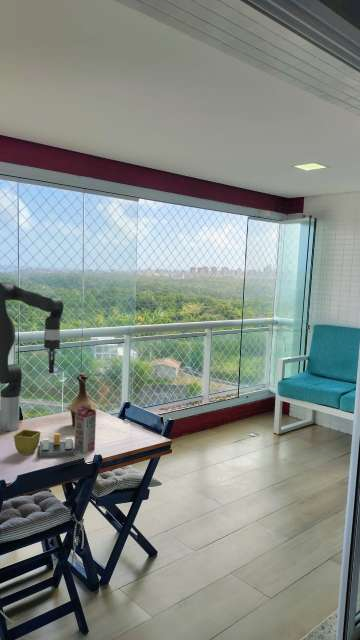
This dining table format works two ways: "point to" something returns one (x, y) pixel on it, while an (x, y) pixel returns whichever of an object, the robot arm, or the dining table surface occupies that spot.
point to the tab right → (68, 442)
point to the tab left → (45, 443)
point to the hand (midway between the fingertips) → (51, 373)
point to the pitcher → (81, 398)
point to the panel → (56, 450)
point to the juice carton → (85, 429)
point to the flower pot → (27, 441)
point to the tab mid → (57, 438)
